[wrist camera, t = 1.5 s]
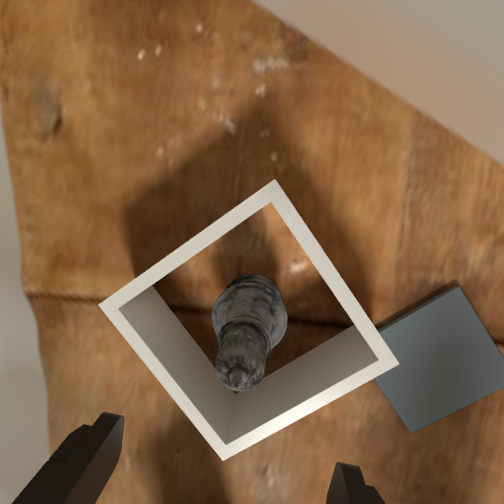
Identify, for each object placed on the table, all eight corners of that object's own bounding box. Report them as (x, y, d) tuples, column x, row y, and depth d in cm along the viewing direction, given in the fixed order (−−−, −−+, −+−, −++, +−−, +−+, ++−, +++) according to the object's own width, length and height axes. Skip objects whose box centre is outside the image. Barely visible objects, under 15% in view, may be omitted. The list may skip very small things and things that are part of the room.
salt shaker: (246, 257, 27) (224, 310, 15) (299, 298, 27) (319, 381, 15) (206, 307, 28) (156, 393, 16) (258, 346, 28) (246, 457, 17)
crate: (372, 326, 27) (399, 364, 21) (233, 407, 30) (222, 460, 24) (275, 181, 25) (274, 178, 19) (135, 280, 28) (98, 305, 22)
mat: (512, 376, 27) (517, 380, 27) (408, 429, 29) (411, 433, 28) (455, 284, 26) (459, 286, 25) (350, 345, 28) (352, 348, 27)
